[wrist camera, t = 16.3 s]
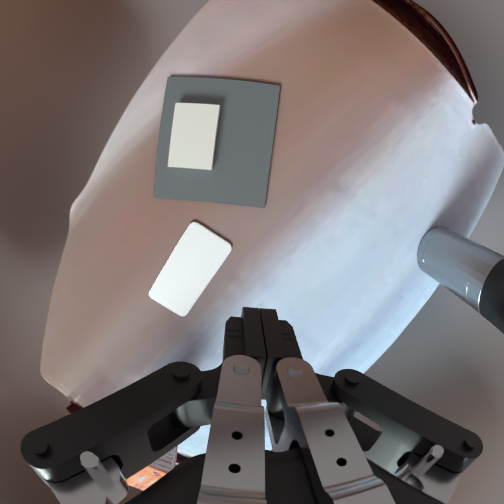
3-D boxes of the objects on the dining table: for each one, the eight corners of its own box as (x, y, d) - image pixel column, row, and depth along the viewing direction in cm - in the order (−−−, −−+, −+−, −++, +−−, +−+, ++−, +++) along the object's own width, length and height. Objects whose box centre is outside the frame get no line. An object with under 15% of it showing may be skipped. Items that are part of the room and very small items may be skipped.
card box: (219, 104, 33) (175, 102, 32) (211, 170, 36) (167, 166, 35) (220, 107, 35) (178, 104, 34) (212, 169, 37) (170, 166, 37)
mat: (279, 86, 35) (280, 85, 34) (264, 207, 40) (264, 208, 40) (168, 78, 33) (167, 77, 33) (154, 197, 39) (153, 197, 38)
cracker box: (162, 419, 54) (147, 493, 34) (138, 407, 53) (117, 481, 33) (188, 389, 51) (175, 476, 31) (162, 376, 49) (139, 463, 30)
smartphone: (146, 295, 43) (192, 219, 40) (148, 293, 44) (193, 218, 40) (184, 318, 45) (234, 246, 41) (185, 316, 46) (234, 245, 42)
